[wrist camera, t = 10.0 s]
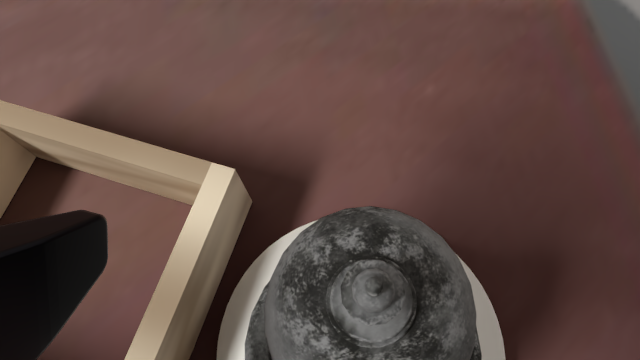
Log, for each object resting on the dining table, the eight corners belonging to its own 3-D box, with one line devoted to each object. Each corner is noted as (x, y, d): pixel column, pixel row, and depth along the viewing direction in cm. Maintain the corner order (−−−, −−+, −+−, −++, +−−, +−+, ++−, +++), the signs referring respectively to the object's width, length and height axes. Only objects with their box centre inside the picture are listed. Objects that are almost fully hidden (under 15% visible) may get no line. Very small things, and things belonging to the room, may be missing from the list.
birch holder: (138, 486, 16) (92, 506, 13) (-117, 379, 17) (-206, 377, 15) (252, 201, 19) (235, 169, 16) (29, 133, 21) (-21, 93, 18)
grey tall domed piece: (451, 267, 17) (631, 39, 6) (460, 470, 15) (773, 701, 4) (273, 261, 18) (137, 38, 6) (257, 458, 15) (10, 631, 4)
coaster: (465, 565, 15) (470, 572, 14) (176, 449, 16) (170, 451, 16) (524, 263, 18) (530, 259, 17) (276, 189, 19) (274, 183, 19)
